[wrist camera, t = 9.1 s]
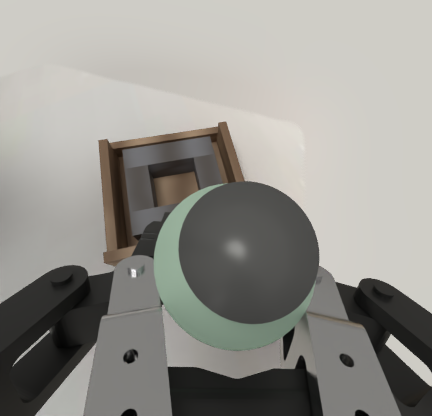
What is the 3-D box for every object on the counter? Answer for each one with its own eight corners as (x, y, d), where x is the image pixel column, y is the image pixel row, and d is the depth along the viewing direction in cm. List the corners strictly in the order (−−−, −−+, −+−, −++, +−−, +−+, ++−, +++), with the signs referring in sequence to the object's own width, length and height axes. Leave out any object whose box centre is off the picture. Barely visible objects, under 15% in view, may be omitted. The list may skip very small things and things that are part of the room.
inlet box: (123, 268, 27) (103, 262, 21) (112, 156, 32) (94, 128, 27) (250, 240, 29) (262, 227, 24) (220, 139, 35) (224, 109, 29)
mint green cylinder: (187, 318, 14) (154, 412, 3) (176, 254, 15) (126, 168, 4) (249, 302, 15) (395, 335, 4) (233, 242, 16) (310, 139, 5)
